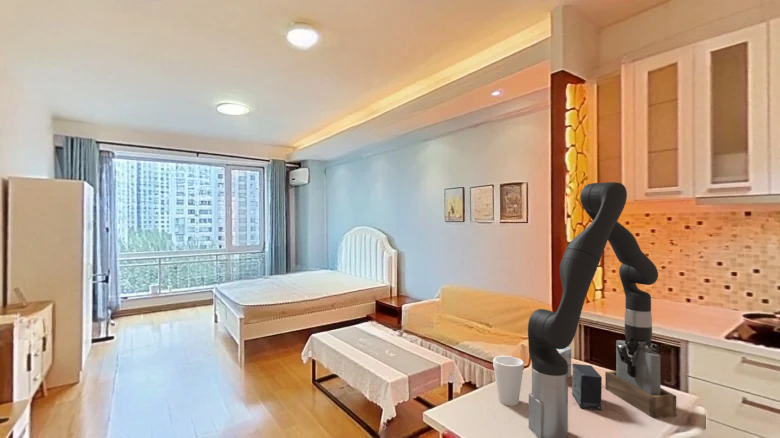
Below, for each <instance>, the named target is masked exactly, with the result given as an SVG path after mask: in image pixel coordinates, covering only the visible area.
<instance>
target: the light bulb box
mask: <svg viewBox="0 0 780 438" xmlns="http://www.w3.org/2000/svg"><path fill="white" fill-rule="evenodd" d="M556 349H557V348H556ZM557 351H558V352H559V353H560V355H561V356H562V357H563V358H564V359H565V360H566V361H567V363H568V378H570V377H572V347H570V346H568V347H567V348H565V349H557Z"/></svg>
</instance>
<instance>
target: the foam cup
mask: <svg viewBox="0 0 780 438" xmlns="http://www.w3.org/2000/svg"><path fill="white" fill-rule="evenodd" d="M492 359H493V360H492V365H493V370H494V380H495V385H496V395H497V400H498V402H499V403H500V404H502V405H504V406H505V405H506V406H510V407H511V406H517V405H518V404H519V401H520V394H521V389H522V388H521V386H522V381H523V380H522V379H523V374H524V369H525V367H524V361H523V360H522V359H520V358H519V357H515V356H509V355H498V356H495V357H494V358H492Z"/></svg>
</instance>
